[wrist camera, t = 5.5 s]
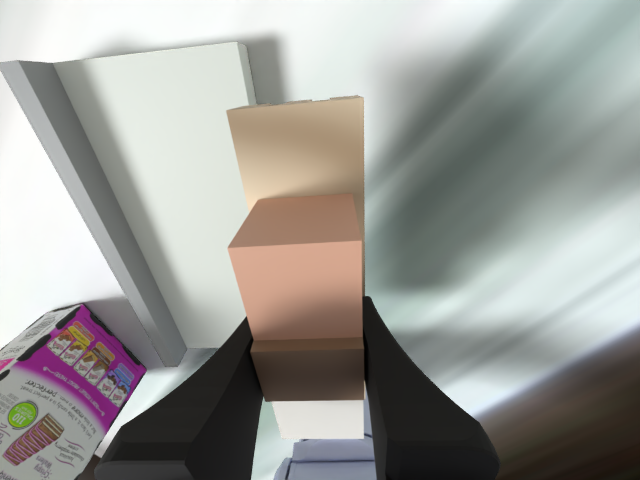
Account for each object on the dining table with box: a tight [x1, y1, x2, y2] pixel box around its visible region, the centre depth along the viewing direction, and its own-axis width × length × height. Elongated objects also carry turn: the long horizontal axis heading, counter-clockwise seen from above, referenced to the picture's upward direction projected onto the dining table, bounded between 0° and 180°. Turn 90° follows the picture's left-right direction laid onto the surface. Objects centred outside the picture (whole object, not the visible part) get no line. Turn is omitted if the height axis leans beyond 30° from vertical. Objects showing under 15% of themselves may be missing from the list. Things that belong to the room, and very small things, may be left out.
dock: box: [0, 42, 257, 367], centre depth 21 cm, size 24×12×4 cm, turn 5°
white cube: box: [272, 400, 364, 439], centre depth 14 cm, size 4×4×4 cm
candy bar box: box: [0, 304, 147, 480], centre depth 23 cm, size 11×5×16 cm, turn 18°
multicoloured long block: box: [226, 95, 365, 402], centre depth 13 cm, size 18×5×7 cm, turn 5°
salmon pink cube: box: [227, 193, 363, 341], centre depth 11 cm, size 4×4×4 cm
